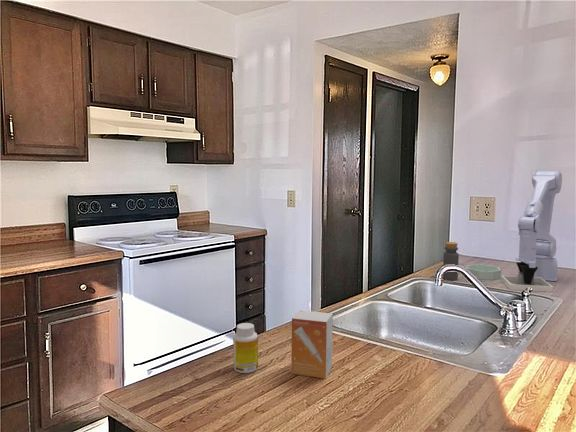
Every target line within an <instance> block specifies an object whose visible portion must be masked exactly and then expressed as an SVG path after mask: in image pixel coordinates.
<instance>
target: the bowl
mask: <svg viewBox="0 0 576 432" xmlns="http://www.w3.org/2000/svg"><path fill="white" fill-rule="evenodd" d="M465 268H466V269H467V270H469V271H470V272H471V273H472V274H473V275H474V276H476V277H477V278H478V279H477V280H482V281H483V280H487V281H494V280H499V279H500V280H501V276H502V269H501V268H500V267H499V266H494V265H490V264H476V263H475V264H469V265H465V267H464V269H465Z"/></svg>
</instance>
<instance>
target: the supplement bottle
mask: <svg viewBox="0 0 576 432" xmlns="http://www.w3.org/2000/svg"><path fill="white" fill-rule="evenodd" d="M258 337H259V336H258V333H257V332H256V331H255V325H254V324H253V323H250V322H242V323H239V324H236V332H235V333H234V334H233V336H232V339H233V343H232V344H233V345H232V347H233V369H234V370H235V372H237V373H240V374H250V373H253V372H255V371H257V369H258V367H259V343H258V342H259V340H258V339H259V338H258Z"/></svg>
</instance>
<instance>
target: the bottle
mask: <svg viewBox="0 0 576 432" xmlns="http://www.w3.org/2000/svg"><path fill="white" fill-rule="evenodd" d="M458 244H459V243H458V242H456V241H455V242H453V241H447V242H445V246H444V250H445V252H443V257H442V258H443V260H442V261H443V263H442V264H443V265H445V264H455V265H458V266H459V252H457V251H458V250H459V248H458ZM458 277H459V272H458V273H457V272H447V273H445V274H444V275H443V274H442V279H443V280H446V281H453V282H454V281H457V280H459V279H458Z"/></svg>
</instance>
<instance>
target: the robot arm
mask: <svg viewBox="0 0 576 432" xmlns="http://www.w3.org/2000/svg"><path fill="white" fill-rule="evenodd" d="M562 182H563V175H562V172H561V171H560V170H557V171H556V170H555V171H554V170H553V171H552V170H551V171H547V170H546V171H543V170H541V171H539V170H538V171H537V170H535V171H534V172H533V173H532V175H531V184H532V187H533V188H534V189H533V192H532V193H533V194H532V198H531V200H529V201H528V202H527V204H526V206H525V209H524V211H523V214H522V217H519V219H518V224H517V228H518V235H519V248H518V257H515V261H517V262H516V263H515V264H516V266H517V268H518V273H519V272H523V277H524V283H525V284H531V282H532V279H533V276H534V277H541V278H542V279H543V280H545V281H546V282H547V281H548V282H552V281H553V282H557V281H558V261H557V258H555V256H556V253H557V240H556V238H555V237H554V236H552V235H551V233H550V230H551V224H552V220H553V219H552V218H553V217H552V216H553V211H554V203H555V197H556V196H557V194H558V193H560V192H561V189H562Z"/></svg>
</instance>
